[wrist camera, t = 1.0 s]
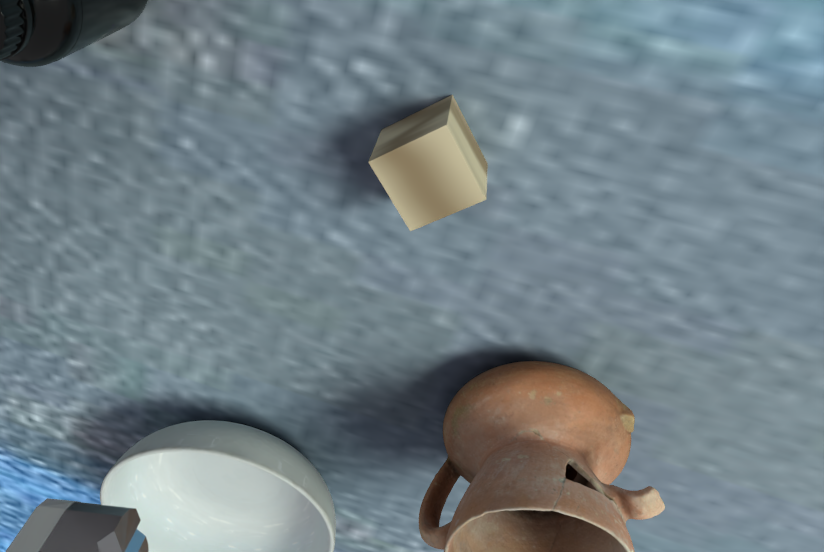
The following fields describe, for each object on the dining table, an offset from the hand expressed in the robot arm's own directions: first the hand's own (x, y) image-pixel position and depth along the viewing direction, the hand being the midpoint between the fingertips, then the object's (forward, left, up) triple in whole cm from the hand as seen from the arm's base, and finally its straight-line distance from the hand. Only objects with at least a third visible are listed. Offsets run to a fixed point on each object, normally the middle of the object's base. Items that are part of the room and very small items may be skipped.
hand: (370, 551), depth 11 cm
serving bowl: (+36, +25, -32) cm, 54 cm away
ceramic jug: (+8, +28, -31) cm, 43 cm away
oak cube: (+4, +4, -31) cm, 32 cm away
